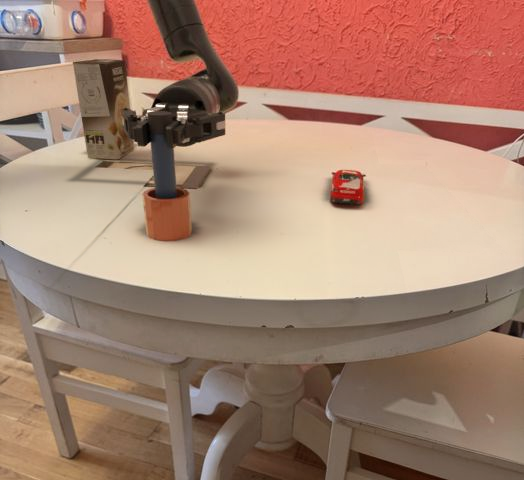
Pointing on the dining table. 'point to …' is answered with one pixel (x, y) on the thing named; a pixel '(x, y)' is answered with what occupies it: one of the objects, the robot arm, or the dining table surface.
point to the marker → (162, 155)
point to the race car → (347, 187)
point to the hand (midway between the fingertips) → (155, 137)
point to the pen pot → (167, 216)
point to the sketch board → (184, 173)
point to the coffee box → (103, 106)
